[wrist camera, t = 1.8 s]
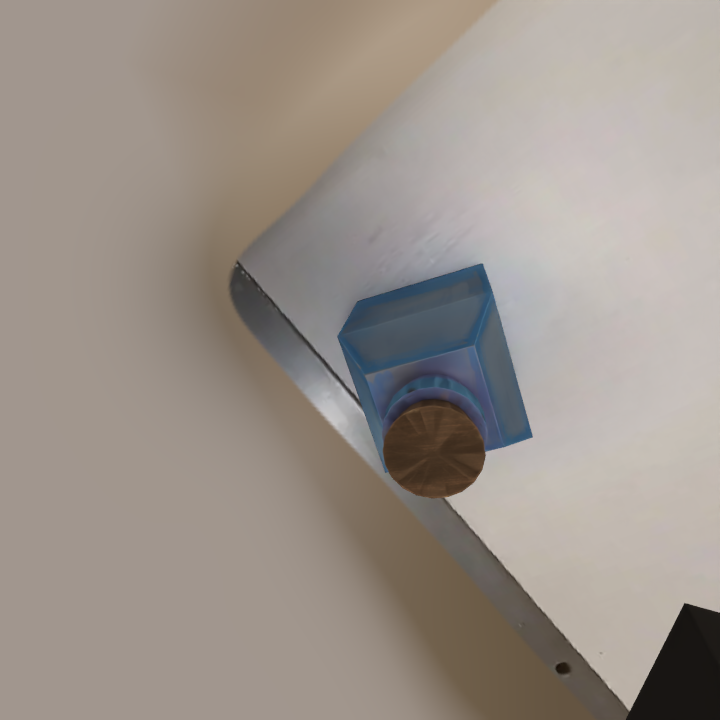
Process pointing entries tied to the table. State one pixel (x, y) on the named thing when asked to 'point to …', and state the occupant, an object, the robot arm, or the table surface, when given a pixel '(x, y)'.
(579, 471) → the table surface
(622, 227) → the table surface
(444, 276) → the perfume bottle
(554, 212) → the table surface
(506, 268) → the table surface
